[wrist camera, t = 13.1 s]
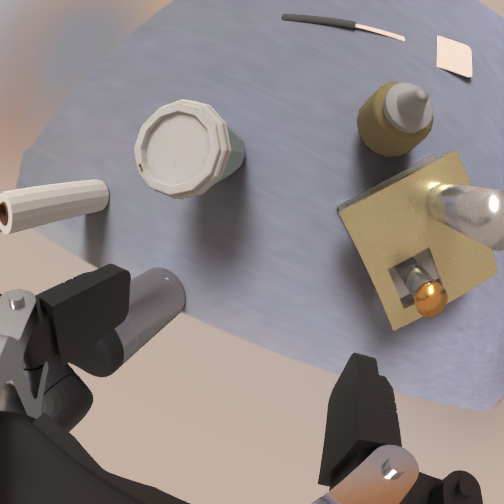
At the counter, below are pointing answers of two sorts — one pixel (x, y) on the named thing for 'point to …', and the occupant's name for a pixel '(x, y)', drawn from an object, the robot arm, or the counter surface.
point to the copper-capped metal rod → (422, 288)
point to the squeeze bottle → (395, 119)
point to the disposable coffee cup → (186, 149)
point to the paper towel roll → (50, 204)
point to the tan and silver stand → (426, 231)
